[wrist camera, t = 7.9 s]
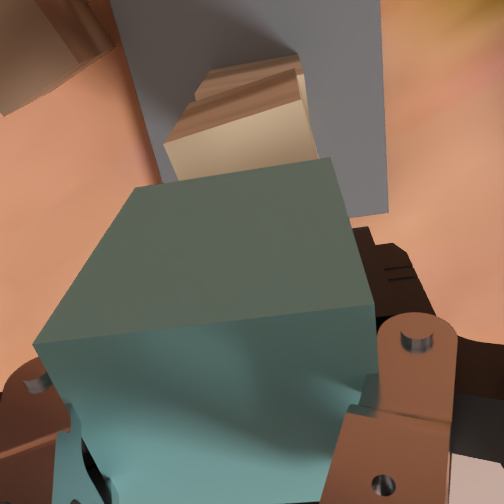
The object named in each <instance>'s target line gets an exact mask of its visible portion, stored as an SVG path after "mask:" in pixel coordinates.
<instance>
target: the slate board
mask: <svg viewBox="0 0 504 504" xmlns="http://www.w3.org/2000/svg"><path fill="white" fill-rule="evenodd" d="M109 1H110V4H111V8H112V11H113V15H114V18H115V22H116V25H117V28H118V32H119V35H120V39H121V42H122V46H123V49H124V52H125V56H126V59H127V63H128V66H129V69H130V73H131V76H132V80H133V83H134V87H135V90H136V93H137V97H138V100H139V104H140V107H141V111H142V114H143V117H144V121H145V124H146V128H147V131H148V135H149V138H150V141H151V145H152V148H153V152H154V155H155V159H156V162H157V165H158V169H159V172H160V176H161V179H162V182H163V183H169V182H175V181H179V180H178V178H177V175H176V173H175V171H174V168H173V166H172V164H171V161H170V159H169V157H168V154H167V152H166V150H165V147H164V145H163V143H164V141H165V140H166V138H167V137H168V135H169V134H170V132H171V131H172V129H173V128H174V126H175V125H176V123H177V122H178V120H179V118H180V117H181V115H182V114H183V112H184V111H185V109H186V108H187V106H188V105H189V103H192V102H195V101H196V99H195V92H196V91H197V89H198V88H199V86H200V84H201V83H202V81H203V80H204V78H205V77H206V75H207V74H208V72H209V71H210V70H214V69H220V68H225V67H230V66H236V65H241V64H247V63H252V62H257V61H263V60H268V59H274V58H279V57H284V56H290V55H295V54H298V55H299V58H300V62H301V65H302V69H303V72H304V78H305V87H306V95H307V103H308V112H309V120H310V127H311V131H312V134H313V138H314V142H315V146H316V149H317V153H318V157H319V159H321V158H327V157H331V161H332V164H333V167H334V171H335V174H336V177H337V181H338V184H339V187H340V191H341V194H342V197H343V201H344V204H345V207H346V211H347V214H348V217H349V218H354V217H362V216H369V215H376V214H383V213H389V209H388V184H387V160H386V135H385V111H384V86H383V61H382V37H381V12H380V0H109Z"/></svg>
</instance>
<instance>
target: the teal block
mask: <svg viewBox="0 0 504 504" xmlns="http://www.w3.org/2000/svg"><path fill="white" fill-rule="evenodd" d="M32 345H33V347H34V348H35V350H36V352H37V354H38V356H39V358H40V360H41V362H42V363H43V365H44V367H45V369H46V371H47V373H48V375H49V377H50V379H51V380H52V382H53V384H54V386H55V388H56V390H57V392H58V394H59V395H60V397H61V399H62V401H63V403H64V404H70V403H72V405H73V407H74V409H75V411H76V413H77V415H78V417H79V419H80V421H81V437H82V439H83V441H84V442H85V444H86V446H87V448H88V450H89V452H90V454H91V456H92V457H93V459H94V461H95V463H96V465H97V467H98V469H99V471H100V473H101V474H102V476H103V478H104V479H111V480H112V482H113V484H114V486H115V488H116V490H117V492H118V494H119V504H286V503H301V502H316V501H320V498H321V495H322V492H323V488H324V485H325V481H326V478H327V475H328V471H329V468H330V464H331V461H332V458H333V454H334V451H335V447H336V444H337V441H338V437H339V434H340V430H341V427H342V424H343V420H344V417H345V414H346V411H347V409H348V407H349V405H350V404H356V405H358V403H359V400H360V397H361V393H362V389H363V386H364V382H365V378H366V375H367V374H372V373H379V364H378V349H377V334H376V318H375V304H374V301H373V297H372V294H371V291H370V287H369V284H368V281H367V277H366V274H365V271H364V267H363V264H362V261H361V257H360V254H359V251H358V247H357V244H356V241H355V237H354V234H353V231H352V227H351V224H350V221H349V217H348V214H347V211H346V207H345V204H344V201H343V197H342V194H341V191H340V187H339V184H338V181H337V177H336V174H335V171H334V167H333V164H332V161H331V157H327V158H321V159H314V160H308V161H302V162H295V163H289V164H283V165H276V166H270V167H264V168H257V169H251V170H245V171H238V172H232V173H226V174H219V175H213V176H207V177H200V178H194V179H188V180H181V181H175V182H169V183H162V184H156V185H150V186H143V187H137V188H135V189H134V190H133V192H132V193H131V195H130V196H129V198H128V199H127V201H126V202H125V204H124V205H123V207H122V209H121V210H120V212H119V213H118V215H117V216H116V218H115V219H114V221H113V222H112V224H111V225H110V227H109V228H108V230H107V231H106V233H105V234H104V236H103V237H102V239H101V240H100V242H99V244H98V245H97V247H96V248H95V250H94V251H93V253H92V254H91V256H90V257H89V259H88V260H87V262H86V263H85V265H84V266H83V268H82V269H81V271H80V272H79V274H78V275H77V277H76V279H75V280H74V282H73V283H72V285H71V286H70V288H69V289H68V291H67V292H66V294H65V295H64V297H63V298H62V300H61V301H60V303H59V304H58V306H57V307H56V309H55V310H54V312H53V314H52V315H51V317H50V318H49V320H48V321H47V323H46V324H45V326H44V327H43V329H42V330H41V332H40V333H39V335H38V336H37V338H36V339H35V341H34V342H33V344H32Z"/></svg>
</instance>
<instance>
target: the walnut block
mask: <svg viewBox="0 0 504 504" xmlns="http://www.w3.org/2000/svg"><path fill="white" fill-rule="evenodd" d="M115 47H116V46H115V44H114V43H113V42H112V40H111V39H110V37H109V36H108V34H107V33H106V31H105V30H104V28H103V27H102V25H101V24H100V22H99V21H98V19H97V18H96V16H95V15H94V13H93V12H92V10H91V9H90V7H89V6H88V4H87V3H86V1H85V0H0V113H1V114H2V115H3V116H6V115H8V114H10V113H12V112H14V111H16V110H17V109H19V108H21V107H23V106H25V105H27V104H29V103H31V102H33V101H34V100H36V99H38V98H40V97H42V96H44V95H46V94H48V93H50V92H51V91H53V90H54V89H56V88H57V87H59V86H60V85H62V84H63V83H64V82H66V81H67V80H69V79H70V78H72V77H73V76H74V75H76V74H77V73H79V72H80V71H82V70H83V69H85V68H86V67H87V66H89V65H90V64H92V63H93V62H95V61H96V60H97V59H99V58H100V57H102V56H103V55H105V54H106V53H107V52H109V51H110V50H112V49H113V48H115Z"/></svg>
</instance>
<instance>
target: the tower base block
mask: <svg viewBox="0 0 504 504" xmlns="http://www.w3.org/2000/svg"><path fill="white" fill-rule="evenodd" d="M293 68H295V71H296V75H297V79H298V82H299V86H300V90H301V94H302V97H303V101H304V105H305V108H306V112H307V116H308V120H309V112H308V103H307V95H306V87H305V78H304V72H303V69H302V65H301V62H300V58H299V55H298V54H295V55H290V56H284V57H279V58H274V59H268V60H263V61H257V62H252V63H247V64H241V65H236V66H230V67H225V68H220V69H214V70H210V71H209V72H208V74H207V75H206V77H205V78H204V80H203V81H202V83H201V84H200V86H199V88H198V89H197V91H196V92H195V99H196V101H198V100H201V99H204V98H206V97H209V96H212V95H215V94H218V93H221V92H224V91H227V90H230V89H233V88H236V87H239V86H242V85H245V84H248V83H251V82H254V81H257V80H260V79H263V78H266V77H269V76H272V75H275V74H278V73H281V72H284V71H287V70H290V69H293ZM309 123H310V120H309Z"/></svg>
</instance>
